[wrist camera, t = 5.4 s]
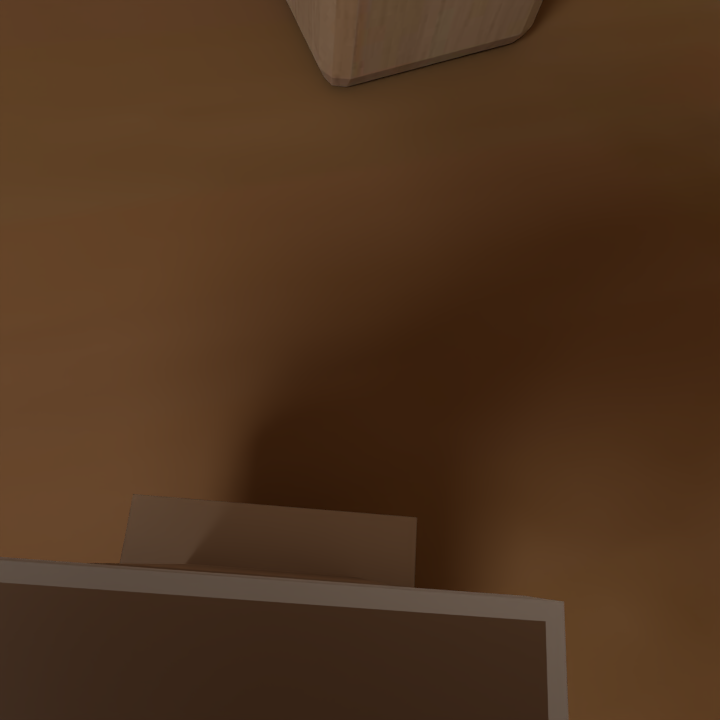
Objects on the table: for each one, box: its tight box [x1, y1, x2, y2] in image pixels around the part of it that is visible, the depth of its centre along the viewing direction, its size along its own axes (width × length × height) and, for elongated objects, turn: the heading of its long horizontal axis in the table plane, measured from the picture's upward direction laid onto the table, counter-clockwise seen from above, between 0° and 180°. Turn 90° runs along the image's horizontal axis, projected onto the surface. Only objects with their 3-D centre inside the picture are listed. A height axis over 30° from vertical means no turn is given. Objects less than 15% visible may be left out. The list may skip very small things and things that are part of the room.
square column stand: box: [0, 494, 568, 720], centre depth 9 cm, size 7×7×14 cm
